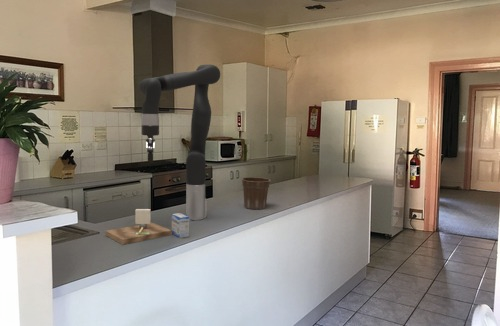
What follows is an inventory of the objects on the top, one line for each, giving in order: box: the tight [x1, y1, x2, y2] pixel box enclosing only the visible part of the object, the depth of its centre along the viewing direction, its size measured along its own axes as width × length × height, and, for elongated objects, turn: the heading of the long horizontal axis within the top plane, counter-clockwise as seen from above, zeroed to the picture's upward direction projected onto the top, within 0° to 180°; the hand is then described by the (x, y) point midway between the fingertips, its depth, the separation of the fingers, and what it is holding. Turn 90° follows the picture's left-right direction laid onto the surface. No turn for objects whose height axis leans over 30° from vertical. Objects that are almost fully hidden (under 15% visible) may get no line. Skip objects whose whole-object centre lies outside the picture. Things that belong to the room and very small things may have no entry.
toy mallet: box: [134, 208, 152, 234], centre depth 174 cm, size 11×6×8 cm, turn 5°
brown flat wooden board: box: [105, 222, 173, 246], centre depth 175 cm, size 22×16×2 cm
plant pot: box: [241, 176, 272, 210], centre depth 234 cm, size 16×16×16 cm
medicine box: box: [171, 212, 190, 239], centre depth 177 cm, size 8×4×9 cm, turn 37°
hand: (150, 161), depth 185 cm, fingers open, 8 cm apart
